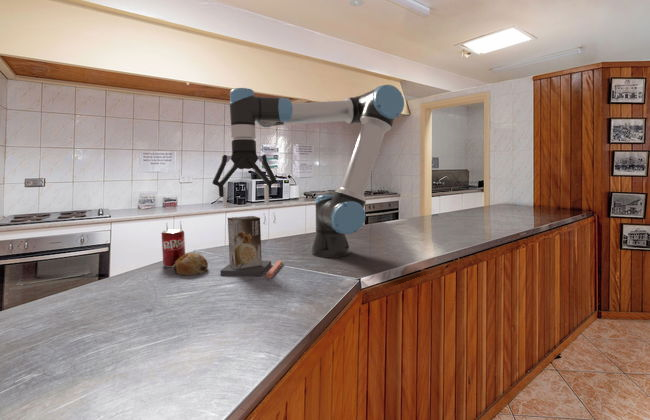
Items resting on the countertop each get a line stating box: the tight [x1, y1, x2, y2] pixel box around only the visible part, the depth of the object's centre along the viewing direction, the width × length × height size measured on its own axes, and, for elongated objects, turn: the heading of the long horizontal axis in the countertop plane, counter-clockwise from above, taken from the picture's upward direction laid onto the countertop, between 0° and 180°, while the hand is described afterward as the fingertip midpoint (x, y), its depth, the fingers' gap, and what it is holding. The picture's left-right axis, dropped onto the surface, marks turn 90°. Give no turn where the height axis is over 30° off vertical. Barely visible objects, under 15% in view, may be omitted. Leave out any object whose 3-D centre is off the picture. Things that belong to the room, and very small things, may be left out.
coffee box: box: [227, 215, 263, 269], centre depth 116 cm, size 9×6×16 cm
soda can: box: [160, 229, 186, 268], centre depth 123 cm, size 7×7×12 cm
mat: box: [220, 260, 272, 277], centre depth 117 cm, size 13×13×2 cm
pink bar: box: [265, 260, 283, 279], centre depth 116 cm, size 2×16×1 cm, turn 175°
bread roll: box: [172, 252, 209, 276], centre depth 115 cm, size 10×10×8 cm
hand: (246, 206), depth 115 cm, fingers open, 13 cm apart
